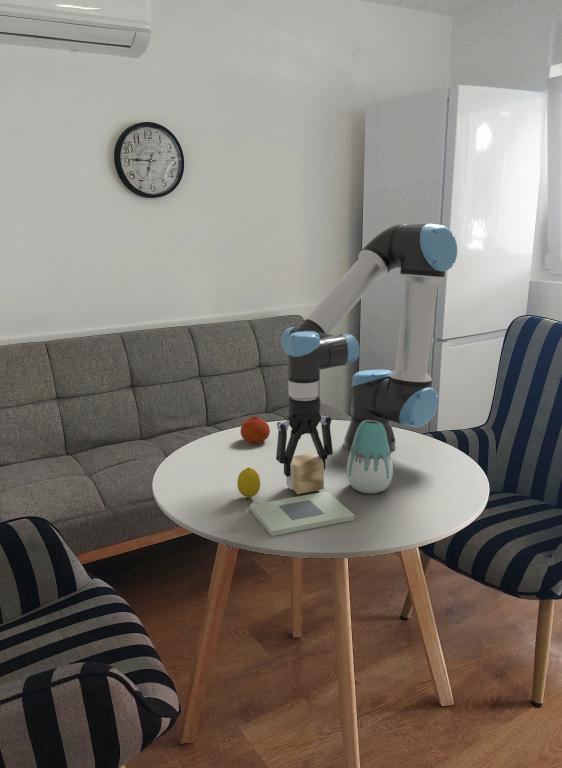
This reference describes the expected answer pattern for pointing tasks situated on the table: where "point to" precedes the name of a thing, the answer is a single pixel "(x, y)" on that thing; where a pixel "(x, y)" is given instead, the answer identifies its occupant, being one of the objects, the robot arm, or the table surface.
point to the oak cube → (308, 473)
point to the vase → (370, 459)
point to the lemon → (248, 483)
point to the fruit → (255, 430)
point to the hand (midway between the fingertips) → (305, 484)
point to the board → (300, 513)
